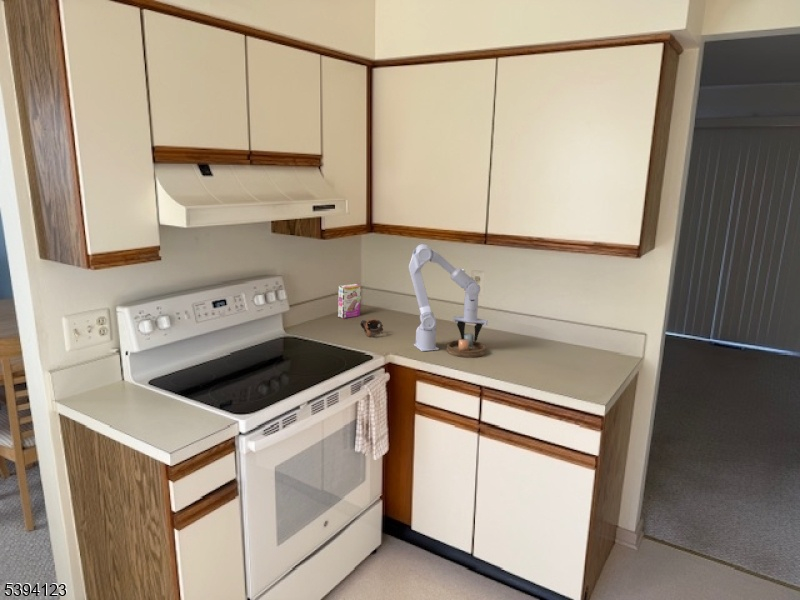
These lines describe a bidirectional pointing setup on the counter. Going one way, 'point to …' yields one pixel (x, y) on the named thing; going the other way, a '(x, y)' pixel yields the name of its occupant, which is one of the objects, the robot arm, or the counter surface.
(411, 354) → the counter surface
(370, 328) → the pottery mug
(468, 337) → the slate bead
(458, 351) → the walnut groove tray
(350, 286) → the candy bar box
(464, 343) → the peach rounded cylinder
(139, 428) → the counter surface
